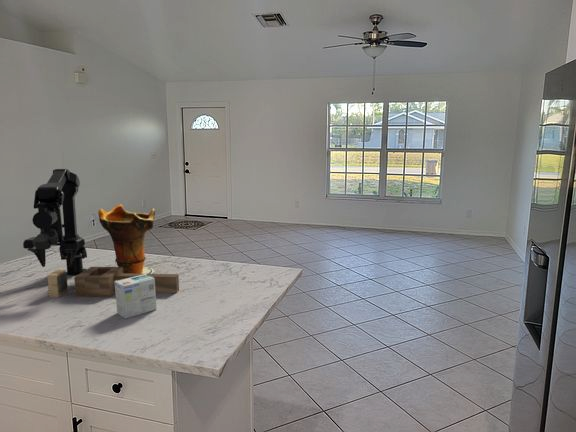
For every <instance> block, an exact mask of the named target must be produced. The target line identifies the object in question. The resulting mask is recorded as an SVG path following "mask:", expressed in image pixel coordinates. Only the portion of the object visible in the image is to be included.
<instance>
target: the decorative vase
mask: <svg viewBox="0 0 576 432" xmlns="http://www.w3.org/2000/svg"><path fill="white" fill-rule="evenodd" d="M155 213H156V209H155V208H151V210H150V211H149V213H144V212H133V211H132V212H131V211H127V210H126V209H125V208H124V206H123V204H122V203H121V204H117V205H115V206H114V207H113V208H112V209H111V210H109V211H108V212H107V211H106V210H104V208H100V209H98V219H99V223H100V225H101V227H102V228H103V230H105V231H106V232H107V233H108V234H109V235H110V238H111V240H112V242H113V249H114V253H115V257H116V258H115V260H114V261H115V263H114V264H116V265H117V266H116V267H123V274H154V273H155V270H154V269H153V268H152V267H147V266H144V264H145V261H146V260H147V259H146V258H147V257H146V256H145V255H146V254H145V253H146V252H145V238H146V237H145V235H146V233H147V232H148V231H150V230H152V229H153V228H154V222H155Z"/></svg>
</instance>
